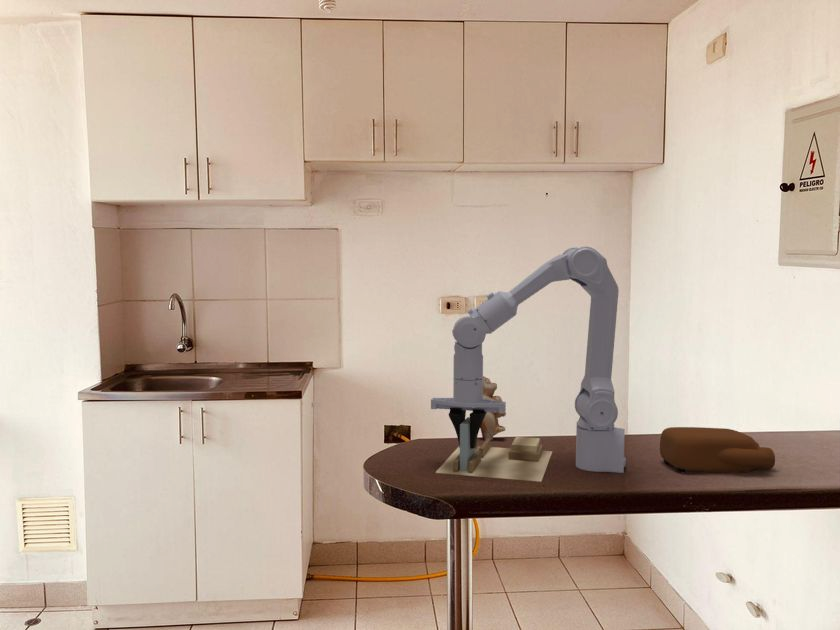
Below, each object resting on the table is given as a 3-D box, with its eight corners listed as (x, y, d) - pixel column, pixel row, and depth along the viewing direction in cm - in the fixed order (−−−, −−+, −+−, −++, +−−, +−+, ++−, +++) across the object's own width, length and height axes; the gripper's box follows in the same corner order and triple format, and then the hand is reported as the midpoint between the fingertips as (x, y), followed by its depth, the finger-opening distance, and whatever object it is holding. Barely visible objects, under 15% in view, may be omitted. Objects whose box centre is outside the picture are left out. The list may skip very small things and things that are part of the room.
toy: (741, 461, 152) (650, 458, 150) (744, 425, 152) (653, 422, 150) (781, 481, 138) (681, 478, 136) (785, 442, 137) (685, 439, 135)
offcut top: (539, 445, 151) (539, 438, 150) (536, 453, 144) (536, 446, 144) (516, 443, 152) (516, 436, 152) (511, 451, 145) (511, 444, 145)
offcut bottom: (542, 451, 151) (542, 444, 151) (538, 461, 143) (538, 454, 143) (514, 449, 153) (514, 442, 153) (508, 459, 145) (508, 452, 145)
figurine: (504, 446, 159) (505, 379, 158) (470, 444, 161) (471, 378, 160) (506, 439, 166) (507, 375, 164) (474, 438, 167) (474, 374, 166)
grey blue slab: (474, 461, 143) (475, 417, 143) (467, 471, 136) (467, 425, 136) (467, 461, 144) (467, 417, 143) (459, 470, 137) (460, 424, 136)
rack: (552, 456, 152) (552, 442, 151) (541, 486, 130) (541, 470, 130) (460, 449, 157) (460, 435, 157) (435, 477, 136) (435, 462, 136)
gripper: (508, 376, 141) (507, 444, 142) (437, 373, 145) (436, 439, 146) (502, 382, 134) (501, 453, 135) (428, 378, 138) (427, 448, 139)
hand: (467, 447), depth 140 cm, fingers closed on grey blue slab, 1 cm apart
